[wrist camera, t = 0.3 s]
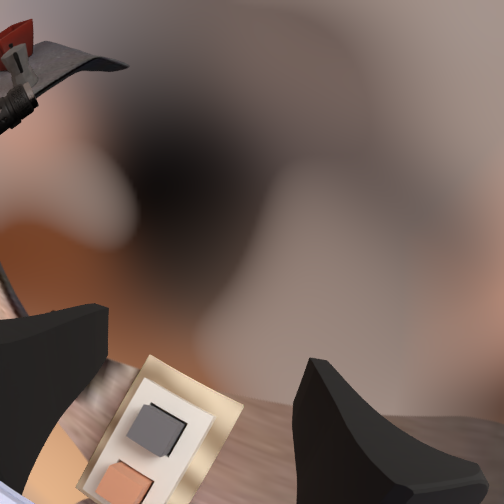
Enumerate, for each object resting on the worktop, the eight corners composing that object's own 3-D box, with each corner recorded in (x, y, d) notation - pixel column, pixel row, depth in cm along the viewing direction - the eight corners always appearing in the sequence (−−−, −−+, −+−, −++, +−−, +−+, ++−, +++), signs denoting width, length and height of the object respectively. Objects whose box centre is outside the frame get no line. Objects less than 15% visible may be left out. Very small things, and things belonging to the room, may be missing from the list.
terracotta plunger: (139, 505, 25) (127, 513, 21) (109, 485, 26) (94, 491, 22) (153, 480, 27) (143, 487, 23) (123, 461, 27) (109, 465, 24)
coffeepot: (13, 88, 74) (-4, 48, 58) (35, 74, 77) (20, 33, 61) (18, 101, 69) (-1, 56, 53) (43, 84, 72) (26, 39, 56)
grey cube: (169, 453, 28) (160, 457, 25) (138, 434, 29) (125, 435, 26) (185, 424, 30) (178, 425, 27) (154, 405, 31) (143, 404, 27)
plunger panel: (155, 521, 26) (146, 531, 22) (96, 483, 28) (82, 488, 24) (216, 416, 33) (213, 416, 30) (153, 381, 35) (144, 377, 31)
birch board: (164, 541, 25) (163, 543, 24) (78, 486, 28) (75, 487, 27) (244, 405, 35) (244, 405, 34) (151, 355, 37) (149, 354, 37)
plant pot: (21, 52, 93) (12, 24, 78) (42, 49, 90) (33, 18, 75) (-9, 76, 84) (-21, 47, 70) (10, 74, 81) (-3, 41, 66)
